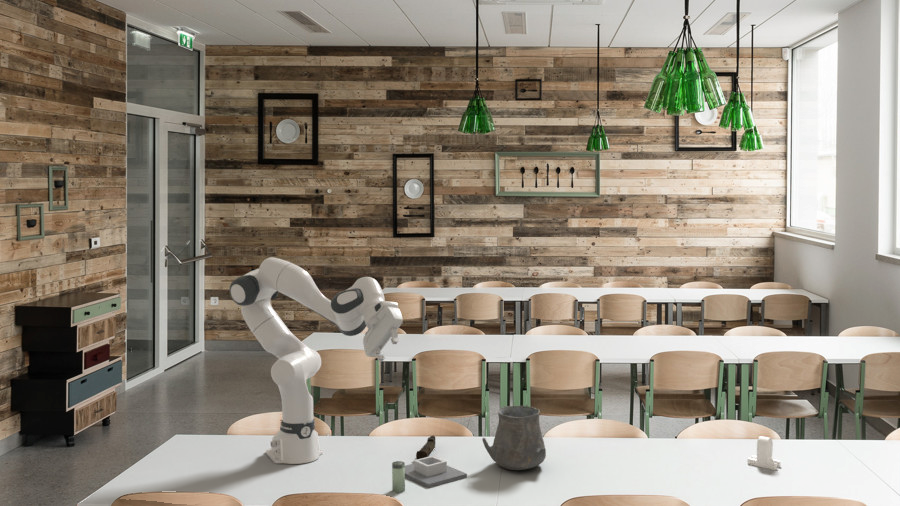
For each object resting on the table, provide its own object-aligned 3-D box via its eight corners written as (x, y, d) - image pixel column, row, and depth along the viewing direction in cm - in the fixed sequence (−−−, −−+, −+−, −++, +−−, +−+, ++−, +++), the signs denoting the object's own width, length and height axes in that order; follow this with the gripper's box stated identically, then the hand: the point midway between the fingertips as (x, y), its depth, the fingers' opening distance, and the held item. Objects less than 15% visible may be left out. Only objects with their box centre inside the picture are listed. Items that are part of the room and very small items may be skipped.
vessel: (558, 460, 292) (558, 405, 290) (538, 479, 272) (538, 420, 270) (501, 452, 301) (501, 399, 300) (478, 471, 281) (478, 413, 279)
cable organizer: (775, 470, 280) (775, 441, 279) (746, 463, 286) (747, 435, 286) (780, 466, 284) (781, 438, 283) (752, 460, 290) (753, 432, 290)
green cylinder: (390, 490, 263) (389, 462, 262) (400, 487, 265) (400, 460, 265) (396, 493, 260) (396, 466, 259) (407, 490, 262) (407, 463, 261)
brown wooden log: (426, 462, 291) (426, 449, 291) (415, 461, 293) (415, 448, 292) (441, 446, 310) (441, 434, 309) (431, 445, 311) (431, 433, 310)
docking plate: (394, 471, 281) (394, 458, 280) (431, 462, 290) (431, 449, 290) (428, 487, 265) (428, 473, 264) (466, 477, 274) (466, 463, 274)
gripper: (355, 336, 275) (365, 369, 267) (383, 298, 264) (395, 331, 256) (371, 337, 279) (382, 370, 271) (399, 299, 268) (411, 333, 260)
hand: (388, 351), depth 263 cm, fingers open, 8 cm apart
